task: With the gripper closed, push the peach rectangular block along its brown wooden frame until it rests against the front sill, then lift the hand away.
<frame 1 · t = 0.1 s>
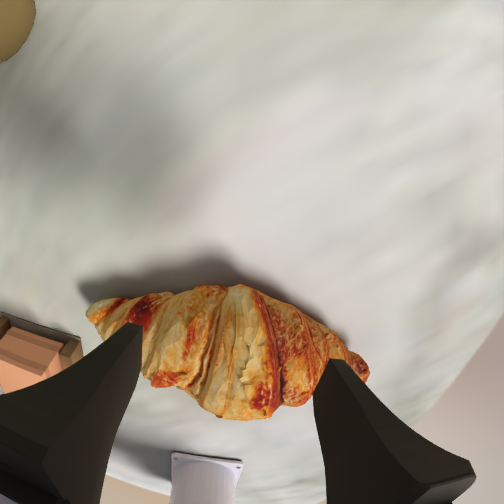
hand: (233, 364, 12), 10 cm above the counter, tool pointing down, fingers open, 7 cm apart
brown wooden frame: (52, 381, 26), on the counter
squeeze bottle: (10, 29, 14), on the counter
peach rectangular block: (32, 374, 22), point 3 cm above the counter, slide at 0.0 cm
croissant: (231, 328, 24), on the counter
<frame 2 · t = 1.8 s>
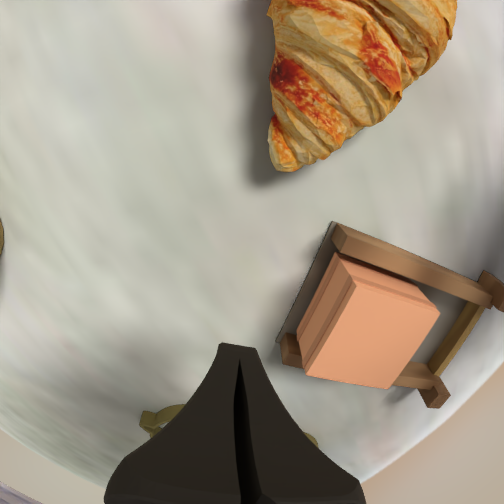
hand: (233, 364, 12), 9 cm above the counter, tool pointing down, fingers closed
cookie cutter: (232, 442, 28), on the counter
brown wooden frame: (392, 313, 21), on the counter
peach rectangular block: (364, 323, 18), point 3 cm above the counter, slide at 0.0 cm
croissant: (346, 15, 14), on the counter
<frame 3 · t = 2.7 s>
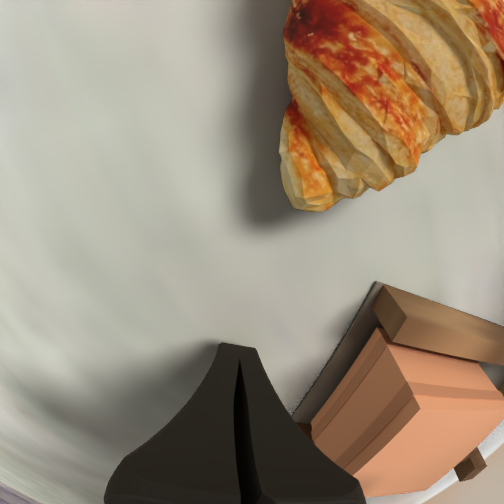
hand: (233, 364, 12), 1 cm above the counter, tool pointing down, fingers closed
brown wooden frame: (436, 388, 14), on the counter
peach rectangular block: (408, 422, 11), point 3 cm above the counter, slide at 0.0 cm
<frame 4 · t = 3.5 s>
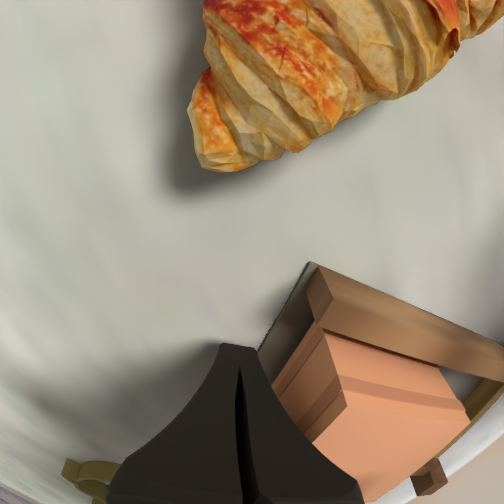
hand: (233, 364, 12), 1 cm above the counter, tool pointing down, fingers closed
cookie cutter: (174, 500, 20), on the counter
brown wooden frame: (389, 391, 14), on the counter
peach rectangular block: (352, 424, 11), point 3 cm above the counter, slide at 0.3 cm, touching gripper
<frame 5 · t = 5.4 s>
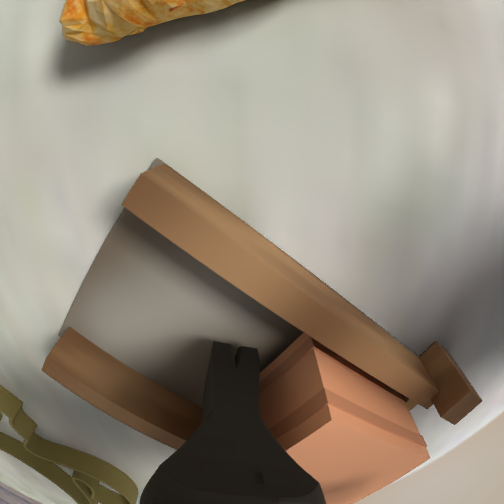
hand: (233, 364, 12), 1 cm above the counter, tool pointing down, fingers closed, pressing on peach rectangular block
cookie cutter: (39, 440, 17), on the counter
brown wooden frame: (248, 362, 13), on the counter
peach rectangular block: (316, 440, 11), point 3 cm above the counter, slide at 7.0 cm, touching brown wooden frame, gripper
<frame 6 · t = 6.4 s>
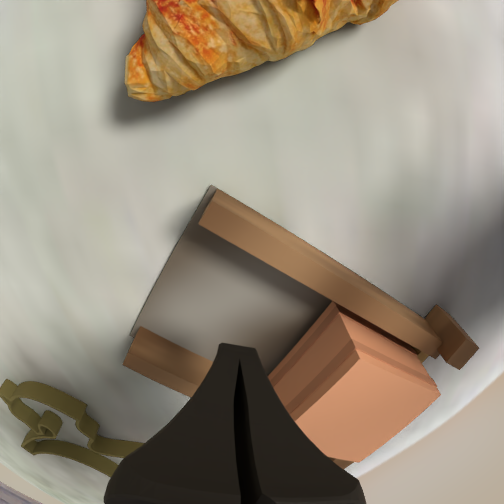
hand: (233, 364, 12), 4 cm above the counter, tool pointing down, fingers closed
cookie cutter: (98, 441, 21), on the counter
brown wooden frame: (290, 335, 16), on the counter
peach rectangular block: (349, 390, 15), point 3 cm above the counter, slide at 6.8 cm
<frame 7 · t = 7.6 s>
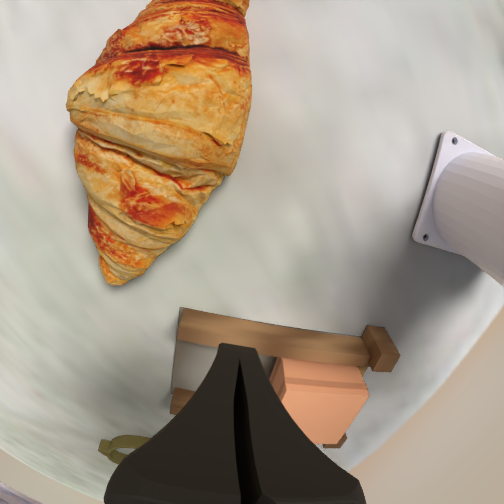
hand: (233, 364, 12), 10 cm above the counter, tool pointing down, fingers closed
cookie cutter: (177, 463, 31), on the counter
brown wooden frame: (266, 371, 24), on the counter
peach rectangular block: (310, 399, 22), point 3 cm above the counter, slide at 6.8 cm
croissant: (163, 119, 18), on the counter
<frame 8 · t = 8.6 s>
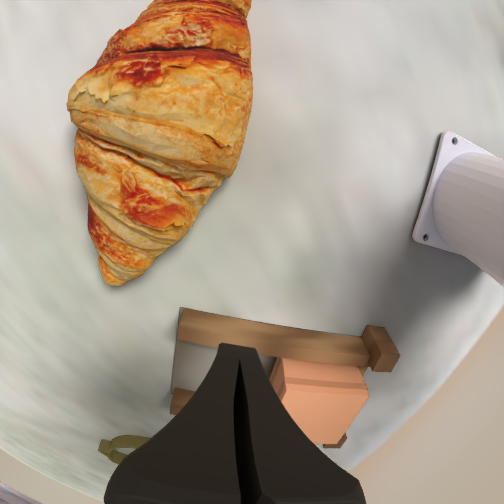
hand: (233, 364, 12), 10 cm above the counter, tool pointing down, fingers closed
cookie cutter: (177, 463, 31), on the counter
brown wooden frame: (266, 371, 24), on the counter
peach rectangular block: (310, 399, 22), point 3 cm above the counter, slide at 6.8 cm
croissant: (163, 119, 18), on the counter
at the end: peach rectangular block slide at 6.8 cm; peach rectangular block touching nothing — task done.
